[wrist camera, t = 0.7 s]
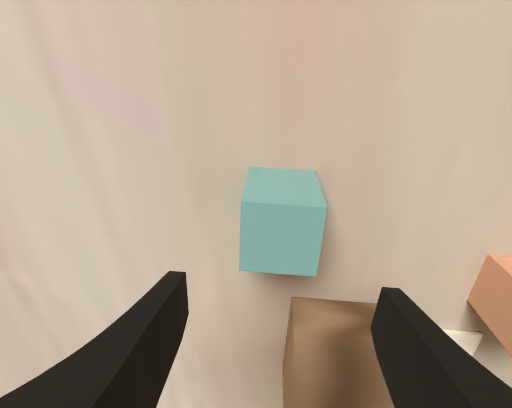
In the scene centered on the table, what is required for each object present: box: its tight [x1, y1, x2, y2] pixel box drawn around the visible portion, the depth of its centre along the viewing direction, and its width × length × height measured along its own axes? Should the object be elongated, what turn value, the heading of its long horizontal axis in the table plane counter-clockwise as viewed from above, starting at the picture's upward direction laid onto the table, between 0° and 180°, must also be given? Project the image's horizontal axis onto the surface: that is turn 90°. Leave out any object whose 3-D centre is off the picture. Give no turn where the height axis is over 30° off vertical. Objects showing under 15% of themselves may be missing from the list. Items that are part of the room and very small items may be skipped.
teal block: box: [239, 167, 328, 277], centre depth 17 cm, size 4×4×5 cm
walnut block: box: [283, 297, 394, 408], centre depth 23 cm, size 8×8×4 cm
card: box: [442, 329, 483, 356], centre depth 24 cm, size 6×6×1 cm
